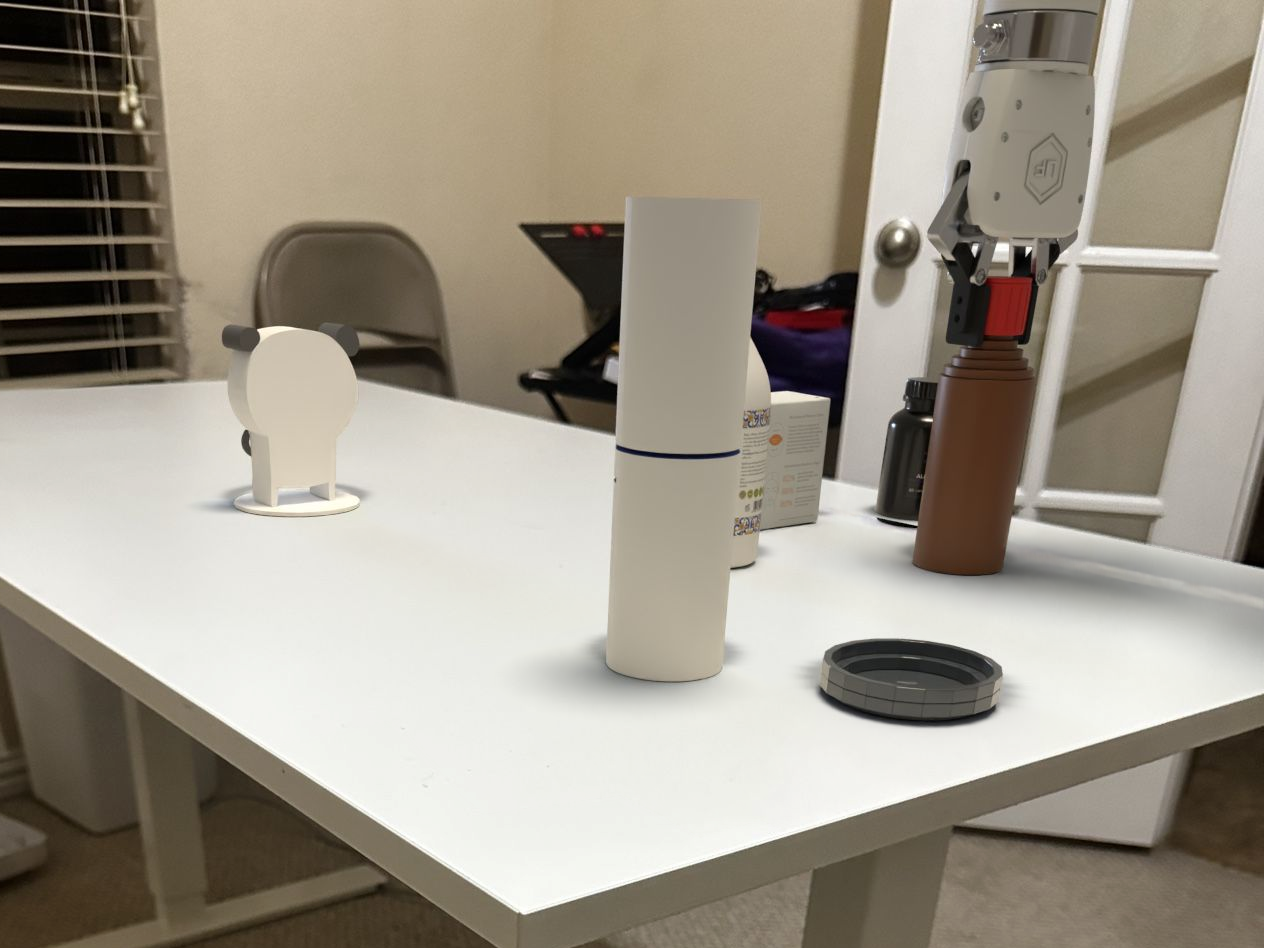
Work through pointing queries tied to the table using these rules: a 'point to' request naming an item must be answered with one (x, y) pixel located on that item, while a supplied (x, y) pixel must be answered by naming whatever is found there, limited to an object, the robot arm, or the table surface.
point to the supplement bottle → (907, 454)
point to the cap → (1007, 305)
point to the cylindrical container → (679, 431)
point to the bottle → (974, 458)
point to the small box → (794, 459)
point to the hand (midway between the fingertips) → (987, 341)
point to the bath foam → (752, 461)
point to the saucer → (911, 678)
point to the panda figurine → (293, 414)
